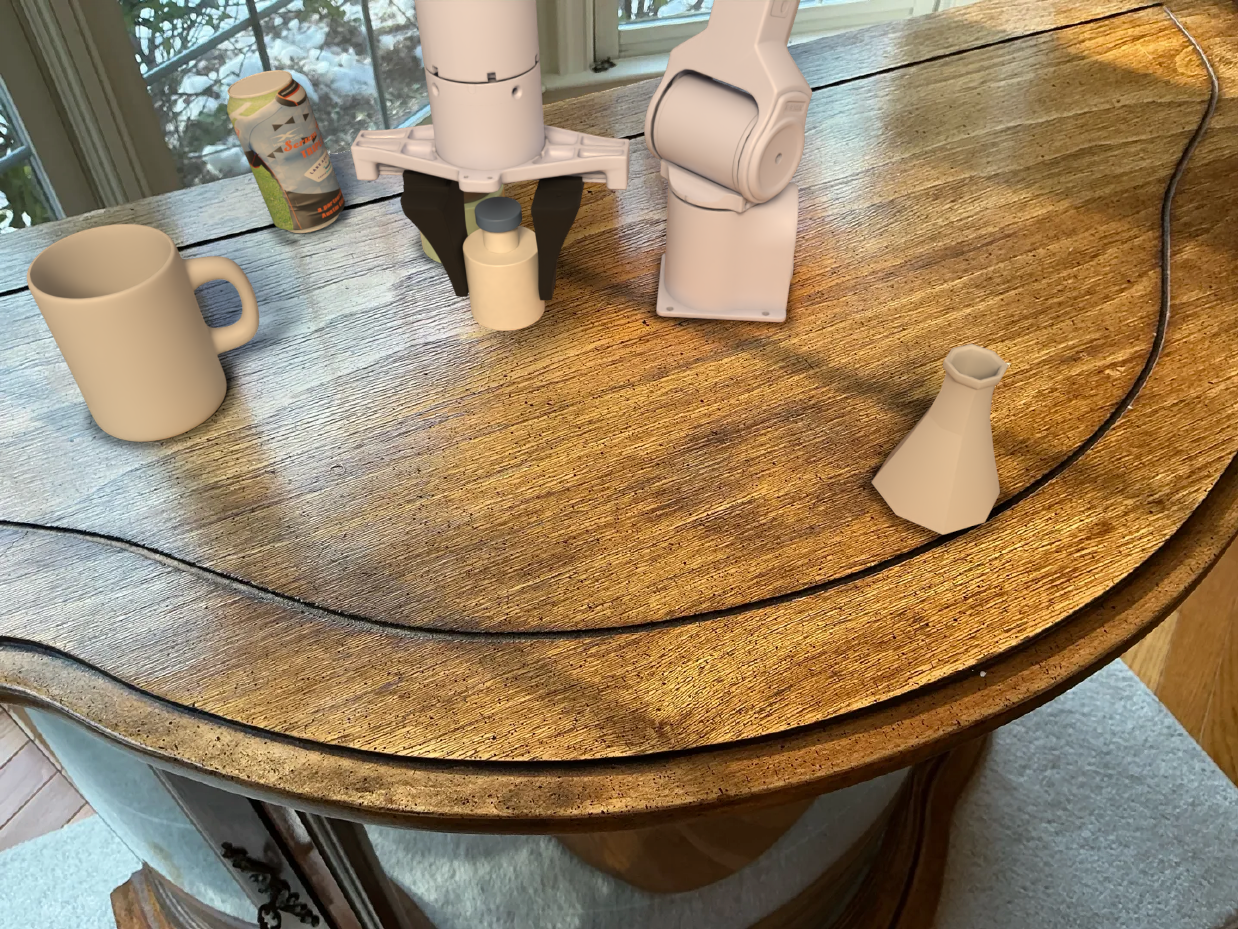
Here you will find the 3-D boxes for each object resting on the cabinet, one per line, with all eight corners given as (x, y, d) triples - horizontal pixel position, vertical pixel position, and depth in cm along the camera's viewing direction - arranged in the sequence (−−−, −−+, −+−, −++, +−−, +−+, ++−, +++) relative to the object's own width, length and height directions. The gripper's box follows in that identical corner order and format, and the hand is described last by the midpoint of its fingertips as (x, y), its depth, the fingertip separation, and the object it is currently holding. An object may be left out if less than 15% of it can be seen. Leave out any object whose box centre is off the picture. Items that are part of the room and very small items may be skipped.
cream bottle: (549, 289, 61) (542, 189, 56) (539, 332, 57) (531, 230, 53) (478, 286, 61) (466, 186, 56) (465, 329, 58) (450, 227, 53)
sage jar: (515, 221, 82) (509, 154, 78) (500, 268, 77) (493, 199, 73) (432, 217, 83) (422, 150, 78) (413, 264, 78) (401, 195, 73)
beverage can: (331, 246, 79) (296, 102, 71) (246, 236, 80) (202, 93, 72) (360, 206, 84) (331, 66, 75) (280, 197, 85) (242, 58, 76)
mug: (103, 459, 62) (30, 317, 54) (87, 382, 67) (17, 243, 60) (293, 401, 66) (249, 261, 58) (263, 333, 71) (219, 196, 64)
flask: (925, 433, 64) (963, 306, 57) (1020, 497, 60) (1074, 368, 53) (849, 483, 60) (879, 355, 53) (944, 554, 56) (990, 426, 49)
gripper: (313, 89, 46) (367, 324, 56) (622, 99, 45) (622, 335, 55) (354, 30, 51) (397, 255, 61) (632, 38, 50) (631, 264, 60)
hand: (505, 288), depth 58 cm, fingers closed on cream bottle, 4 cm apart
